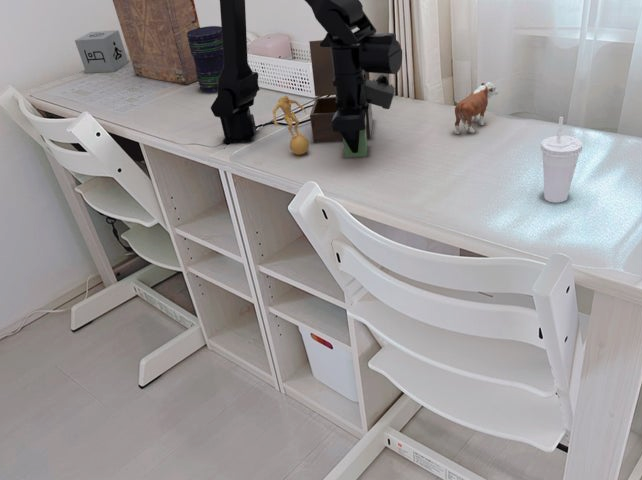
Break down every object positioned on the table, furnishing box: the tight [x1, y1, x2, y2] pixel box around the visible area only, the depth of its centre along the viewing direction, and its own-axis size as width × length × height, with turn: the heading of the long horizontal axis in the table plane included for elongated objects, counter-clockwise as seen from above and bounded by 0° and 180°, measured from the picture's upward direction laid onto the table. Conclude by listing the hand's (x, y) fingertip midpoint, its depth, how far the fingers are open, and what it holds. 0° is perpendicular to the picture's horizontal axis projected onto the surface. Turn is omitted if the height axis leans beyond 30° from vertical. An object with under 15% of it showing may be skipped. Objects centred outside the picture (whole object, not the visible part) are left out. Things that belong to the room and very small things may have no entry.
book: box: [112, 0, 201, 85], centre depth 176 cm, size 25×9×30 cm, turn 52°
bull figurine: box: [454, 81, 499, 135], centre depth 128 cm, size 4×13×8 cm, turn 137°
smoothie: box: [540, 116, 584, 204], centre depth 99 cm, size 6×6×14 cm
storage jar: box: [187, 21, 224, 94], centre depth 165 cm, size 10×10×18 cm
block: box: [342, 129, 368, 159], centre depth 125 cm, size 4×4×4 cm
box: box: [309, 96, 374, 144], centre depth 134 cm, size 10×12×6 cm
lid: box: [308, 39, 371, 97], centre depth 133 cm, size 11×12×1 cm
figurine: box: [272, 95, 310, 156], centre depth 125 cm, size 8×6×12 cm
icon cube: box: [74, 29, 129, 74], centre depth 197 cm, size 10×10×10 cm
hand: (355, 147), depth 125 cm, fingers closed on block, 4 cm apart
